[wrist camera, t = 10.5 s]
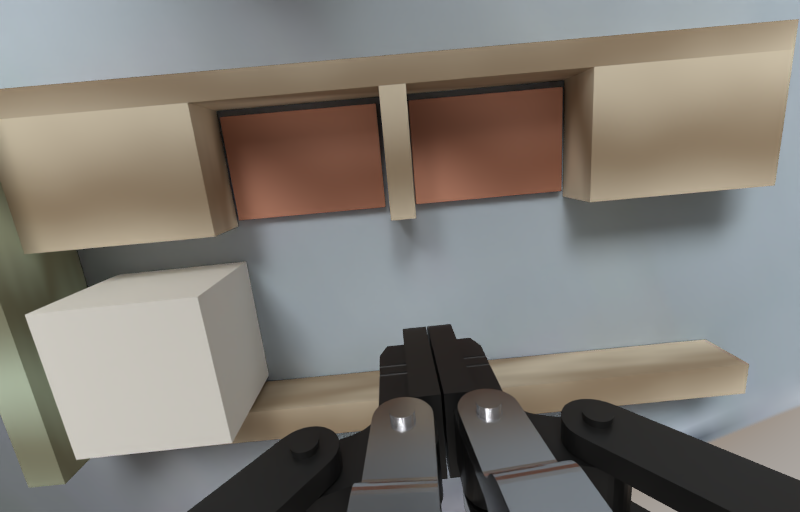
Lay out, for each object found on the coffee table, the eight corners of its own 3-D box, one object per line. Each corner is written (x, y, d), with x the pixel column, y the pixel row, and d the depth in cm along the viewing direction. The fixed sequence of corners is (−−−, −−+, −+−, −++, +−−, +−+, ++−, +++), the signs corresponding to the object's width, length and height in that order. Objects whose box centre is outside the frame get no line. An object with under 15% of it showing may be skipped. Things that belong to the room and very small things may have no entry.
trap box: (-4, 104, 16) (-126, 87, 12) (738, 39, 17) (845, 3, 13) (98, 424, 20) (28, 487, 16) (702, 365, 20) (776, 414, 17)
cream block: (120, 273, 18) (24, 314, 14) (247, 260, 18) (197, 297, 14) (152, 386, 20) (76, 459, 15) (269, 373, 20) (232, 443, 15)
